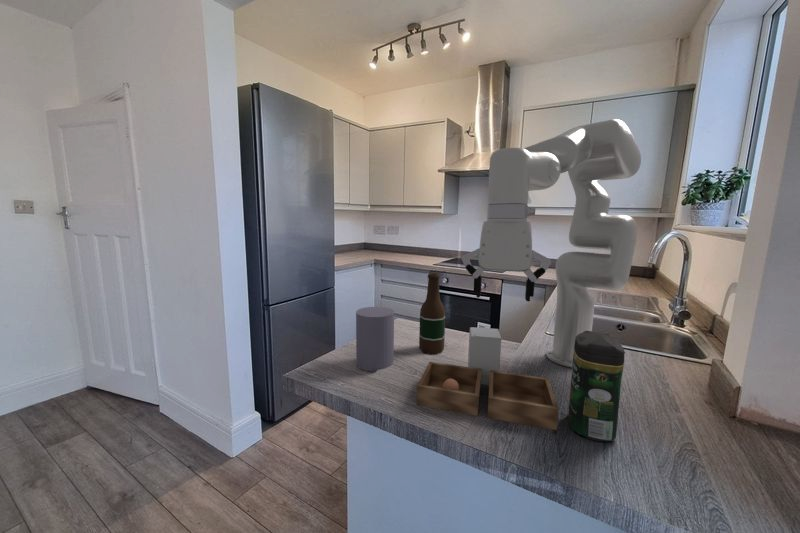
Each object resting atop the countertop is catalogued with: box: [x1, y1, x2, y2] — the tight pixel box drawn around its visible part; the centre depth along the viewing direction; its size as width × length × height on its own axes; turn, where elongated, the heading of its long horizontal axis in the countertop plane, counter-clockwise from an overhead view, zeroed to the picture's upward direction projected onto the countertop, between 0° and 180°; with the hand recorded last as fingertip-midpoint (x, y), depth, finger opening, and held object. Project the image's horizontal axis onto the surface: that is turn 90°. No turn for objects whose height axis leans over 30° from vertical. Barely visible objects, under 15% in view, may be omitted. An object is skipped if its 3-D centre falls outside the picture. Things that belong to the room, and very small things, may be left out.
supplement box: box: [467, 326, 502, 386], centre depth 80 cm, size 7×7×13 cm
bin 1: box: [416, 361, 482, 417], centre depth 72 cm, size 13×13×5 cm
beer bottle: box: [418, 272, 446, 355], centre depth 98 cm, size 8×8×24 cm
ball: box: [443, 379, 459, 391], centre depth 72 cm, size 4×4×4 cm
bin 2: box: [487, 370, 559, 435], centre depth 68 cm, size 13×13×5 cm
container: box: [355, 306, 395, 373], centre depth 88 cm, size 10×10×15 cm
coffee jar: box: [568, 330, 626, 442], centre depth 61 cm, size 10×8×19 cm
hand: (502, 297), depth 66 cm, fingers open, 9 cm apart
